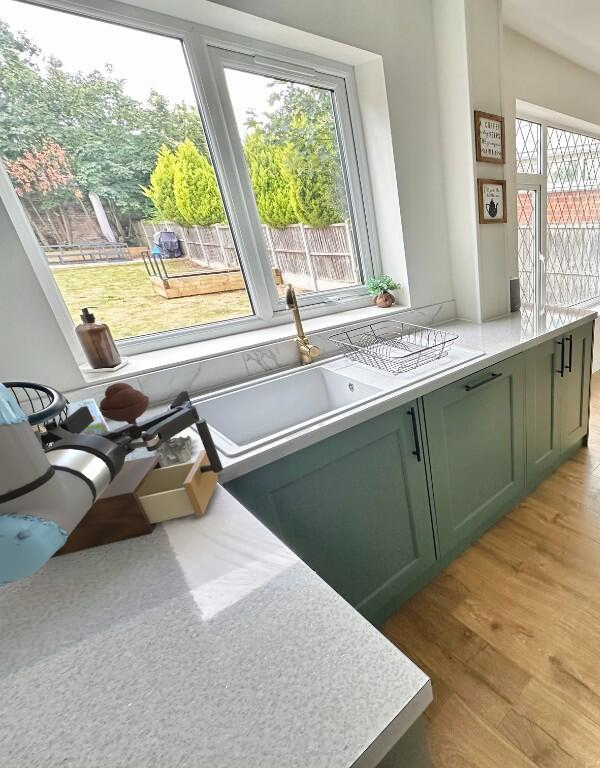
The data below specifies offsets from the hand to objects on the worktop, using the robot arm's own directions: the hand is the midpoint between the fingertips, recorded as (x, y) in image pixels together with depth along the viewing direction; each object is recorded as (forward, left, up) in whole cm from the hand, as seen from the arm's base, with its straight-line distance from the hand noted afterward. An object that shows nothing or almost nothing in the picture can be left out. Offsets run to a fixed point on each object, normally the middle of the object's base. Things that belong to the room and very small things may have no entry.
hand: (139, 405), depth 70 cm
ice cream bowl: (-64, +1, -28) cm, 70 cm away
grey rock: (-38, +5, -28) cm, 48 cm away
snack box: (-47, -7, -28) cm, 55 cm away
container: (-12, 0, -27) cm, 30 cm away
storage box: (-17, -9, -28) cm, 34 cm away
